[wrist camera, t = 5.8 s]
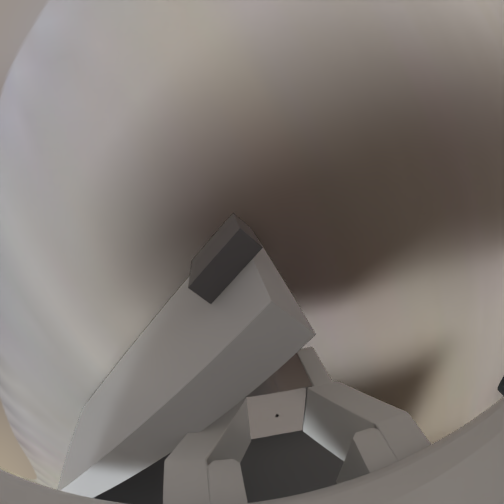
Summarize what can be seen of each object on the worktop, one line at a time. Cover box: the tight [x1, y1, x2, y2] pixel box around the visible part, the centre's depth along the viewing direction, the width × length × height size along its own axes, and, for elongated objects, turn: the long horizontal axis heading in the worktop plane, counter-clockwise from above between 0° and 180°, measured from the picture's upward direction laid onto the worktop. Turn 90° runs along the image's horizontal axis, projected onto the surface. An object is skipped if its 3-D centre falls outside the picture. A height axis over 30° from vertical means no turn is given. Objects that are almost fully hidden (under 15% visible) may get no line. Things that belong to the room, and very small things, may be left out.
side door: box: [57, 213, 316, 498], centre depth 8 cm, size 2×13×5 cm, turn 137°
